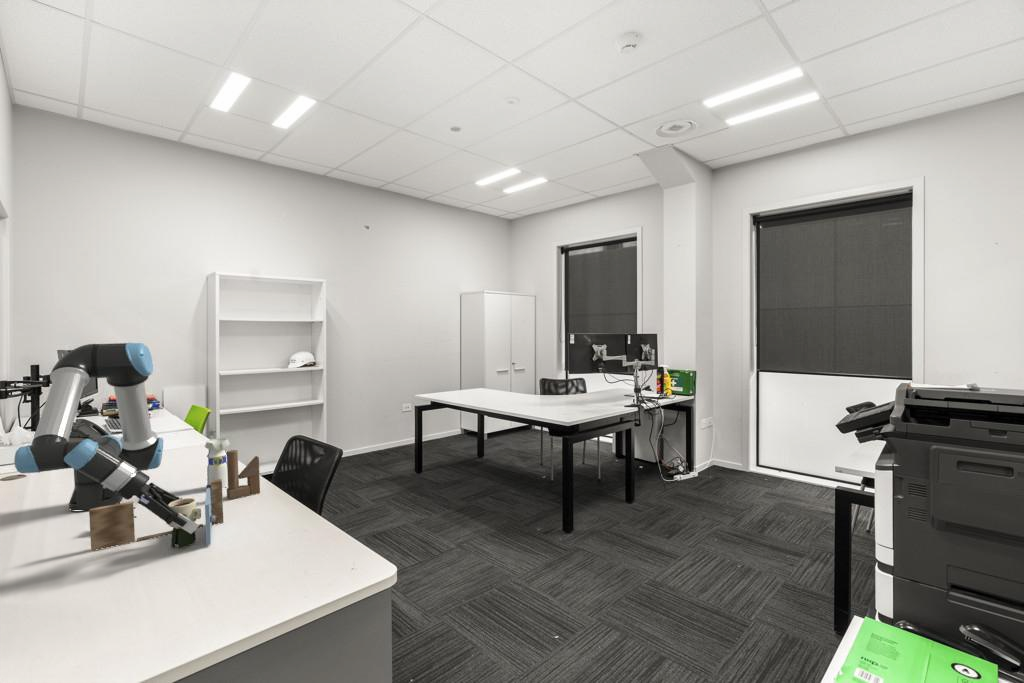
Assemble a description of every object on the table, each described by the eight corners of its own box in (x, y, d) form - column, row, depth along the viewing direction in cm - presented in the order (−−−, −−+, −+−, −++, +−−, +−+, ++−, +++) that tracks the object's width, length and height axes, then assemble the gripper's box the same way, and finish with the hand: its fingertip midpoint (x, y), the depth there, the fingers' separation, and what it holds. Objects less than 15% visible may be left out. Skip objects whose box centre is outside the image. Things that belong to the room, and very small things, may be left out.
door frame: (91, 551, 140) (88, 504, 140) (92, 548, 142) (89, 501, 142) (223, 522, 160) (221, 480, 159) (222, 520, 162) (221, 479, 161)
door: (208, 524, 157) (206, 488, 157) (216, 523, 158) (215, 487, 158) (206, 545, 142) (204, 505, 142) (216, 543, 143) (214, 503, 143)
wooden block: (260, 493, 188) (258, 447, 188) (229, 500, 181) (227, 452, 180) (257, 490, 191) (255, 445, 190) (226, 497, 184) (224, 451, 183)
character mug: (156, 551, 140) (154, 507, 139) (174, 539, 147) (172, 497, 146) (194, 550, 140) (192, 506, 139) (209, 539, 147) (207, 497, 146)
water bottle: (232, 488, 195) (229, 426, 194) (207, 492, 190) (204, 429, 189) (230, 482, 202) (228, 423, 201) (206, 486, 197) (203, 426, 196)
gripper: (122, 481, 144) (187, 521, 153) (107, 504, 125) (183, 548, 134) (143, 461, 147) (207, 501, 155) (132, 480, 128) (204, 525, 137)
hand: (195, 523), depth 145 cm, fingers open, 9 cm apart
